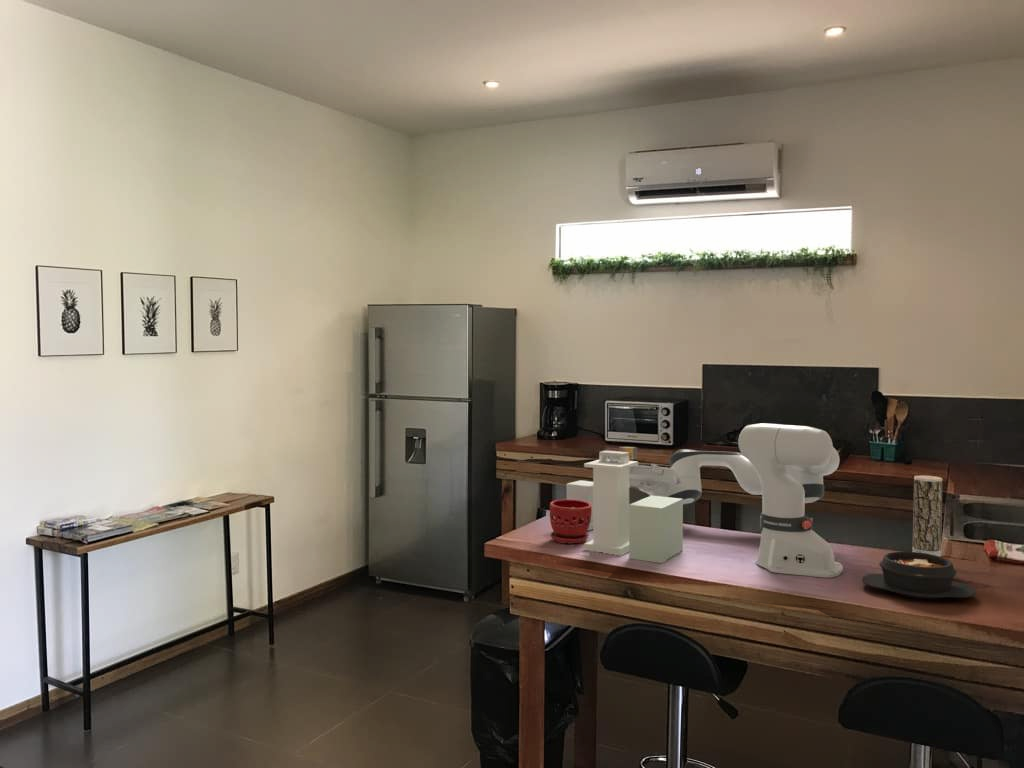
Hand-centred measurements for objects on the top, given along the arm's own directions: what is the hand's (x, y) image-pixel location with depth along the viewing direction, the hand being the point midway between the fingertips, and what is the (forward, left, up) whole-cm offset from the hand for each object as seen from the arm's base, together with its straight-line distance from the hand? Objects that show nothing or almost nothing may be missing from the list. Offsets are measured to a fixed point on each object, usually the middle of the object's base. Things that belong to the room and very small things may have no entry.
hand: (639, 465), depth 255 cm
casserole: (-82, +20, -23) cm, 88 cm away
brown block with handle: (0, +14, +3) cm, 15 cm away
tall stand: (0, +21, -22) cm, 31 cm away
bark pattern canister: (-82, -4, -23) cm, 86 cm away
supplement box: (+20, 0, -23) cm, 30 cm away
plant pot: (+15, +19, -23) cm, 33 cm away
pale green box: (-14, +20, -22) cm, 34 cm away
